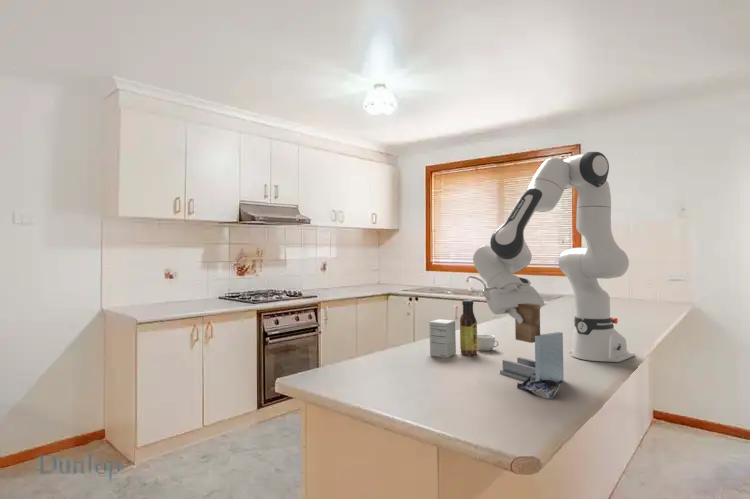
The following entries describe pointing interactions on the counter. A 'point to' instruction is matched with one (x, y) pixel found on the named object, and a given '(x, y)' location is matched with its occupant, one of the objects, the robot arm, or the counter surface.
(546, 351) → the track
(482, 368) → the counter surface
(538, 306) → the tan wooden block
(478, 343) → the teacup
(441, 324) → the supplement box
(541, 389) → the snack package
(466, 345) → the sauce bottle
